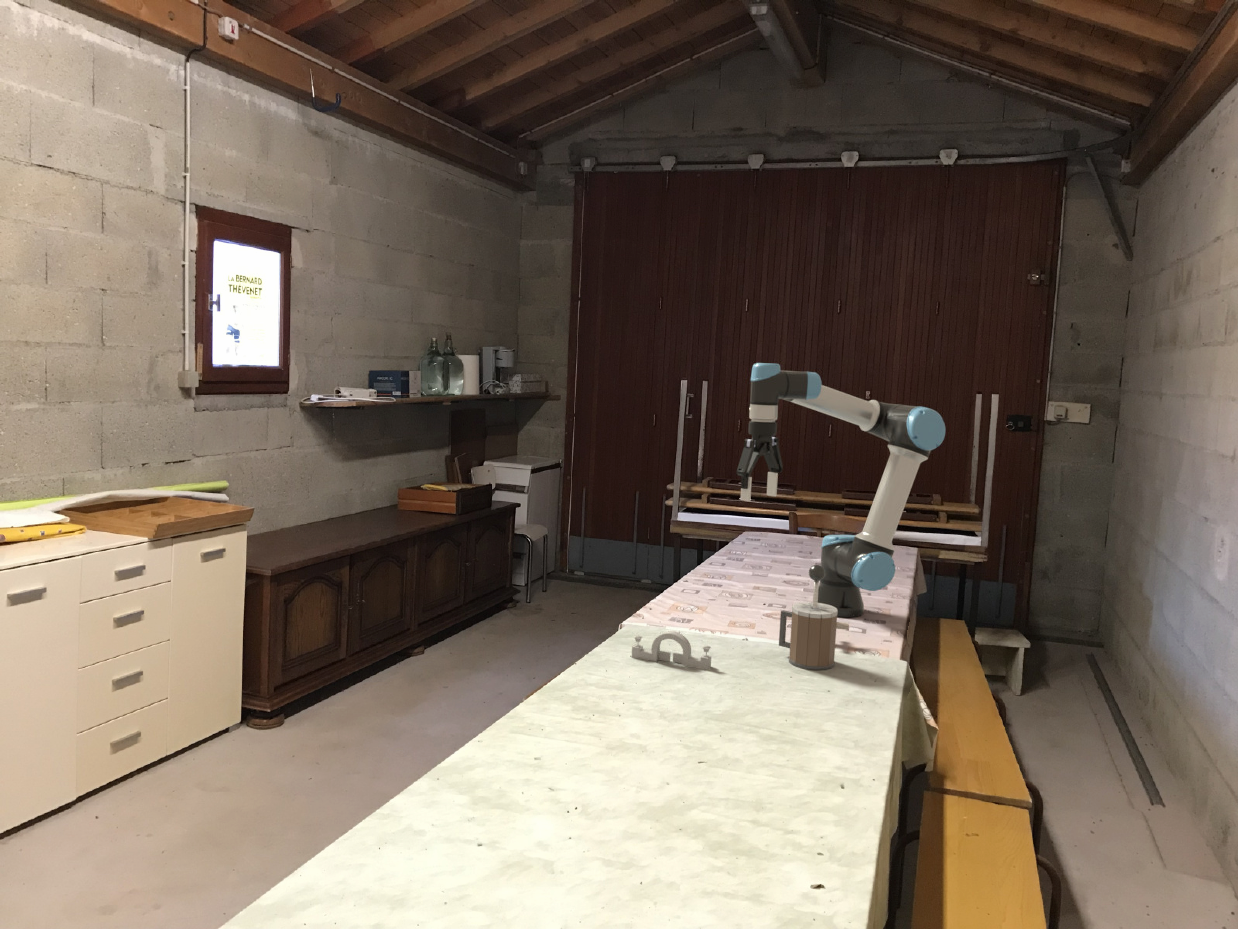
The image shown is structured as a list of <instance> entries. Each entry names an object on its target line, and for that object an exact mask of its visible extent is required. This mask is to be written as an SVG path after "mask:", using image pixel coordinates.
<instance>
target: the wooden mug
mask: <svg viewBox="0 0 1238 929" xmlns="http://www.w3.org/2000/svg"><path fill="white" fill-rule="evenodd" d="M812 605H813V601H812V602H811V601H804V602H796V603H794V604H792V607H791V611H790V610H785V609H783V610H780V619H779V637H778V646H779V647H782V648H787V649H789V656H788V663H789V664H791V665H792V666H793V667H796V668H799V669H803V670H809V671H825V670H827V671H828V670H830V669H832V668H834V666H835V655H836V654H835V652H836V639H837V629H836V625H837V622H838V617H837V613H838V611H837V608H835V607H833V606H831V605H827V604H823V603H818V604H817V610H816V609H812ZM787 618H791V623H790V624H791V625H790V627H791V628H790V639H789V640H790V641H789V642H788V641H786V636H787V634H786V632H787Z"/></svg>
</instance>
